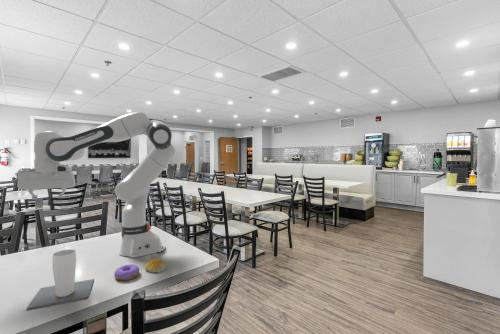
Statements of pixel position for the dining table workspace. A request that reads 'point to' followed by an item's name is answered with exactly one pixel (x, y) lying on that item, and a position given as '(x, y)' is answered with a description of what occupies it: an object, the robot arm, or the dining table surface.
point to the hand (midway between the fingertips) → (48, 198)
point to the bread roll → (155, 266)
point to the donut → (126, 272)
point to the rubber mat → (49, 297)
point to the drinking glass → (64, 272)
